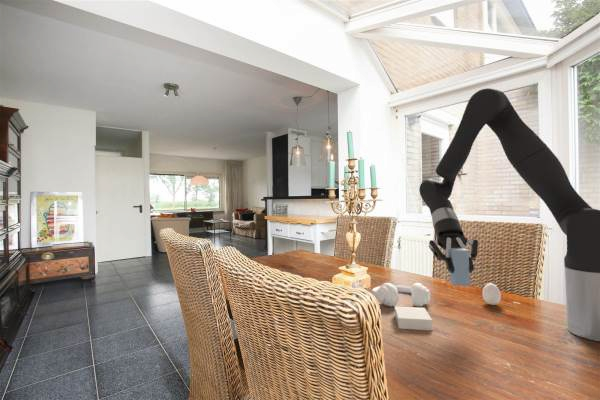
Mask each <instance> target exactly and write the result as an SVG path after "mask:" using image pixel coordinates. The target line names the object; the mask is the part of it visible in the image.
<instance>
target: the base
mask: <svg viewBox="0 0 600 400" xmlns="http://www.w3.org/2000/svg"><path fill="white" fill-rule="evenodd" d="M394 317H395V320H396V323H397V327H398V329H399V330H400V329H402V330H419V331H433V319H432V317H431V316H430V315H429V312H428V311H427V309H426V307H418V306H415V307H414V306H413V307H412V306H396V305H395V306H394Z"/></svg>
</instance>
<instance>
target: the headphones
mask: <svg viewBox="0 0 600 400" xmlns="http://www.w3.org/2000/svg"><path fill="white" fill-rule="evenodd" d="M371 292H372V294H373V295H375V296H376V298H375V299H378V301H380V303H382V304H383V305H385V306H387V307H395V306H396V305H397V304H398V302H399V299H400V296H399V292H400V293H408V294H411V301H412V303H413V305H414V306H415V307H418V308H422V307H423V306H424V305H428V303H429V302H430V301H431V291H430V289H428V287H427V286H424V285H423V283H420V282H414V283H413V284H412V286H410V285H396V284H395V285H394V284H393V283H390V282H384V283H383V284H381V285H379V286H376V287H373V289H372V290H371ZM373 295H372V296H373Z"/></svg>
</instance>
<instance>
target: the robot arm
mask: <svg viewBox="0 0 600 400" xmlns="http://www.w3.org/2000/svg"><path fill="white" fill-rule="evenodd" d="M486 125H487V126H488V127H489V129H491V131H492V132H493V133H494V134H495V135H496V136H497V138H498V140H499V142H500V145H501V147H502V149H503V152H504V154H505V156H506V158H507V160H508V162H509V163H510V165H511V166H512V167H513V169H514V170H515V171H516V172H517V174H518V175H519V177H521V178H522V180H524V182H525V183H526V185H527V186H529V188H530V189H531V190H532V191H534V193H535V194H536V195H537V196H538V197H539V198H540V200H542V201H543V203H544V204H545V206H546V207H547V208H548V211H550V213H551V215H552V216H553V218H554V219H555V221H556V223H557V225H558V226H559V228H560V230H561V231H562V232H563V233H564V235H565V236H566V254H565V256H564V259H563V261H564V265H563V266H564V280H565V283H564V284H565V286H564V287H565V301H566V302H565V304H566V305H565V308H566V329H567V331H568V332H570V333H571V334H573V335H576V336H578V337H580V338H584V339H587V340H589V341H590V340H591V341H596V342H600V209H596V208H593V207H592V206H591V205H590V204H589V203H587V202H586V200H584V199H583V197H582V196H580V195H579V193H578V192H577V191H576V190H575V188H574V187H573V185H572V183H571V181H570V179H569V177H568V174H567V173H566V170H565V167H563V164H562V163H561V160H560V159H559V158H558V157H557V156H556V155H555V154H554V152H553V151H552V150H551V149H550V147H549V146H548V145H547V144H546V143H545V142H544V140H542V139H541V137H540V136H539V135H537V134H536V132H535V131H534V130H532V128H530V127H529V126H528V125H527V124H526V123H525V121H523V120H522V118H521V117H520V115H519V113H518V112H517V111H516V109H515V108H514V106H513V105H512V103H511V101H510V99H509V98H508V97H507V95H506V94H505V93H504V92H503V91H501V90H498V89H494V88H483V89H482V88H481V89H479V90H478V91H476V92H474V93H473V94H472V95H471V96H470V97H469V100H468V102H467V104H466V106H465V109H464V112H463V114H462V117H461V120H460V123H459V125H458V127H457V129H456V131H455V133H454V136H453V138H452V139H451V142H450V144H449V145H448V147H447V149H446V151H445V152H444V155H443V156H442V158H441V159H440V161H439V162H438V165H437V166H436V168H435V173H436V175H438V177H440V178H442V181H438V180H435V179H433V178H432V179H431V178H428V179H424V180H423V181H422V182H421V183H420V185H419V195H420V197H421V199H422V200H423V202H424V203H425V205H426V206H427V208H428V209H429V212H430V216H431V221H432V222H431V223H432V226H433V230H434V232H435V235H436V240H432V239H431V240H429V243H428V248H429V249H430V251H431V252H432V253H433V255H434V256H435V258H436V259H437V260H438V261H444V263H445V266H446V269H447V271H448V272H449V273H450V272H451V273H454V271H455V268H454V266H453V262H452V259H451V258H450V252H449V248H465V249H467V250H468V248H467V247H466V245H468V247H469V248H470V252H469V251H468V253H469V272H470V274H472V273H473V271H474V270H475V266H474V262H473V261H476V258H477V257H478V249H479V241H478V240H477V239H473V240H469V239H468V238H467V237H466V236H465V235H464V234H465V233H464V232H463V228H462V227H461V223H460V220H459V218H458V215H457V214H456V212H455V210H454V207H453V204H452V202H451V201H450V199H449V198H451V196H452V192H453V189H454V185H455V183H456V179H457V176H458V175H459V173H460V171H461V170H462V168H463V167H464V165H465V164H466V162H467V159H468V158H469V156H470V152H471V150H472V148H473V145H474V143H475V140H476V139H477V137H478V135H479V134H480V132H481V131H482V130H483V128H484V127H485V126H486ZM439 247H440V248H441V249H443V250H444V251H443V252H444V253H443V252H442V251H441V249H440V248H439Z"/></svg>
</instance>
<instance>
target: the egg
mask: <svg viewBox="0 0 600 400" xmlns="http://www.w3.org/2000/svg"><path fill="white" fill-rule="evenodd" d="M481 292H482V298H483V301H485V303H487V304H489V305H490V306H496V305H499V303H500V302H501V298H502V294H501V291H500V289H499V288H498V286H497V285H496V284H495V283H492V282H490V283H489V282H488V283H486V284H485V285H484V287H483V288H482V291H481Z"/></svg>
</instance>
